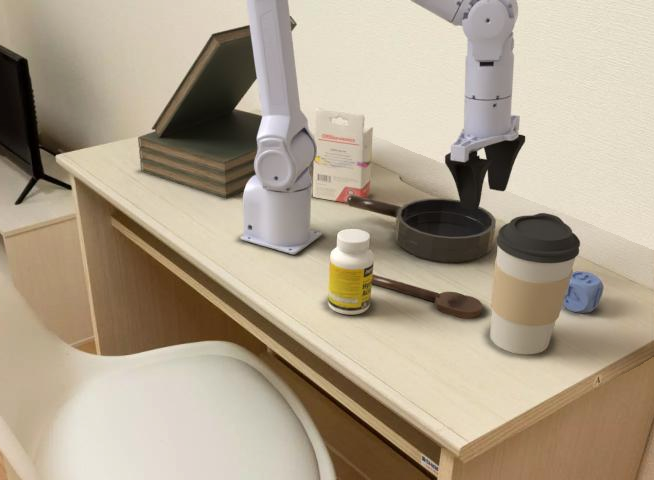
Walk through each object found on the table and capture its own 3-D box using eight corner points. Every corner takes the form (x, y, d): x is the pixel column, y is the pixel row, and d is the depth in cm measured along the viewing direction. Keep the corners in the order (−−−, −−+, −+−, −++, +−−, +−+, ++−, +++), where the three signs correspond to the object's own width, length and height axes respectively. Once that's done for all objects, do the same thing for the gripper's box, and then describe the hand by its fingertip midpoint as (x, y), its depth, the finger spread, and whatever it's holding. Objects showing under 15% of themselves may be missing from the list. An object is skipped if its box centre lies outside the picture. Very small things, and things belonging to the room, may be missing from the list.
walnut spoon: (342, 282, 106) (342, 274, 106) (357, 269, 110) (357, 262, 109) (473, 321, 99) (475, 313, 98) (486, 306, 102) (487, 298, 101)
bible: (226, 138, 155) (222, 1, 142) (307, 160, 146) (311, 16, 132) (140, 171, 139) (126, 20, 126) (225, 198, 130) (220, 38, 116)
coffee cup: (543, 368, 90) (570, 249, 82) (469, 344, 94) (487, 228, 86) (567, 333, 97) (593, 219, 89) (496, 312, 101) (515, 201, 93)
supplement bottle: (367, 318, 99) (372, 247, 93) (324, 313, 100) (327, 242, 94) (372, 297, 103) (378, 228, 98) (331, 292, 104) (334, 223, 99)
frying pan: (378, 248, 115) (380, 223, 113) (418, 215, 126) (420, 191, 124) (471, 273, 110) (475, 247, 107) (504, 236, 120) (509, 211, 118)
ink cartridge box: (370, 195, 132) (376, 107, 124) (360, 206, 128) (366, 115, 120) (322, 187, 135) (325, 100, 127) (311, 197, 131) (313, 108, 123)
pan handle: (344, 206, 123) (345, 196, 122) (349, 203, 124) (350, 192, 123) (399, 220, 119) (400, 209, 118) (404, 216, 120) (405, 205, 119)
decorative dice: (585, 316, 100) (592, 289, 98) (556, 305, 102) (562, 278, 100) (599, 305, 103) (606, 278, 101) (571, 294, 105) (577, 267, 103)
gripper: (489, 112, 91) (485, 223, 98) (544, 83, 100) (536, 186, 107) (436, 106, 95) (435, 213, 102) (493, 78, 104) (489, 178, 111)
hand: (484, 198), depth 105 cm, fingers open, 7 cm apart
